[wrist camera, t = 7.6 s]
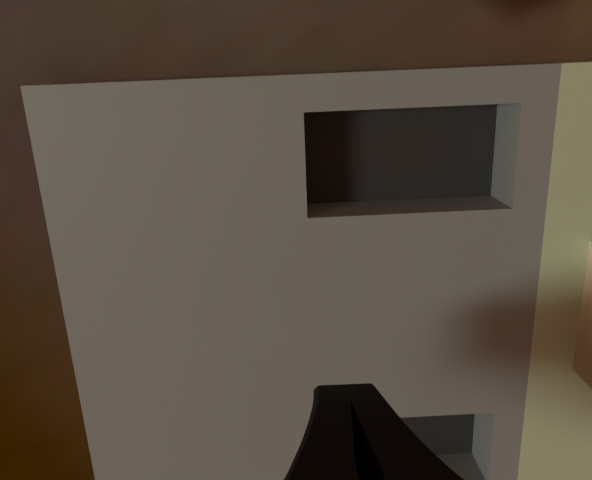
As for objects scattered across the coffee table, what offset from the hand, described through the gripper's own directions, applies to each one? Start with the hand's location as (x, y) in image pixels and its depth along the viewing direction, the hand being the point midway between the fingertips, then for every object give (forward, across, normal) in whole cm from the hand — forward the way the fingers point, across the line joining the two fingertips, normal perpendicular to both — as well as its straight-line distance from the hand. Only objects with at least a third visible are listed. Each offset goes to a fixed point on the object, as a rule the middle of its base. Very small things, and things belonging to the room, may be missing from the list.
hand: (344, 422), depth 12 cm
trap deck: (+7, -2, 0) cm, 7 cm away
